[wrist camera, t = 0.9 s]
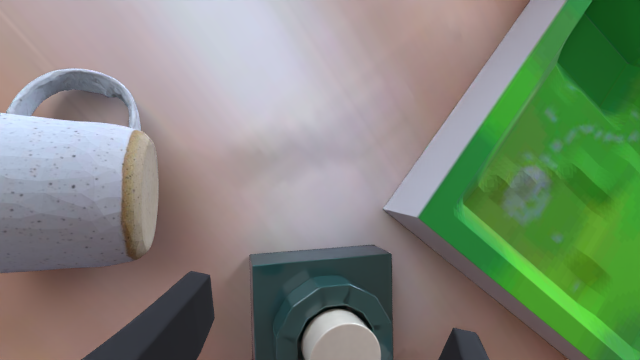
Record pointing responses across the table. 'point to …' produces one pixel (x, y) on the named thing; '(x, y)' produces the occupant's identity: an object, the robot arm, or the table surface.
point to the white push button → (339, 338)
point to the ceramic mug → (74, 182)
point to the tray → (545, 177)
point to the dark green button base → (317, 295)
